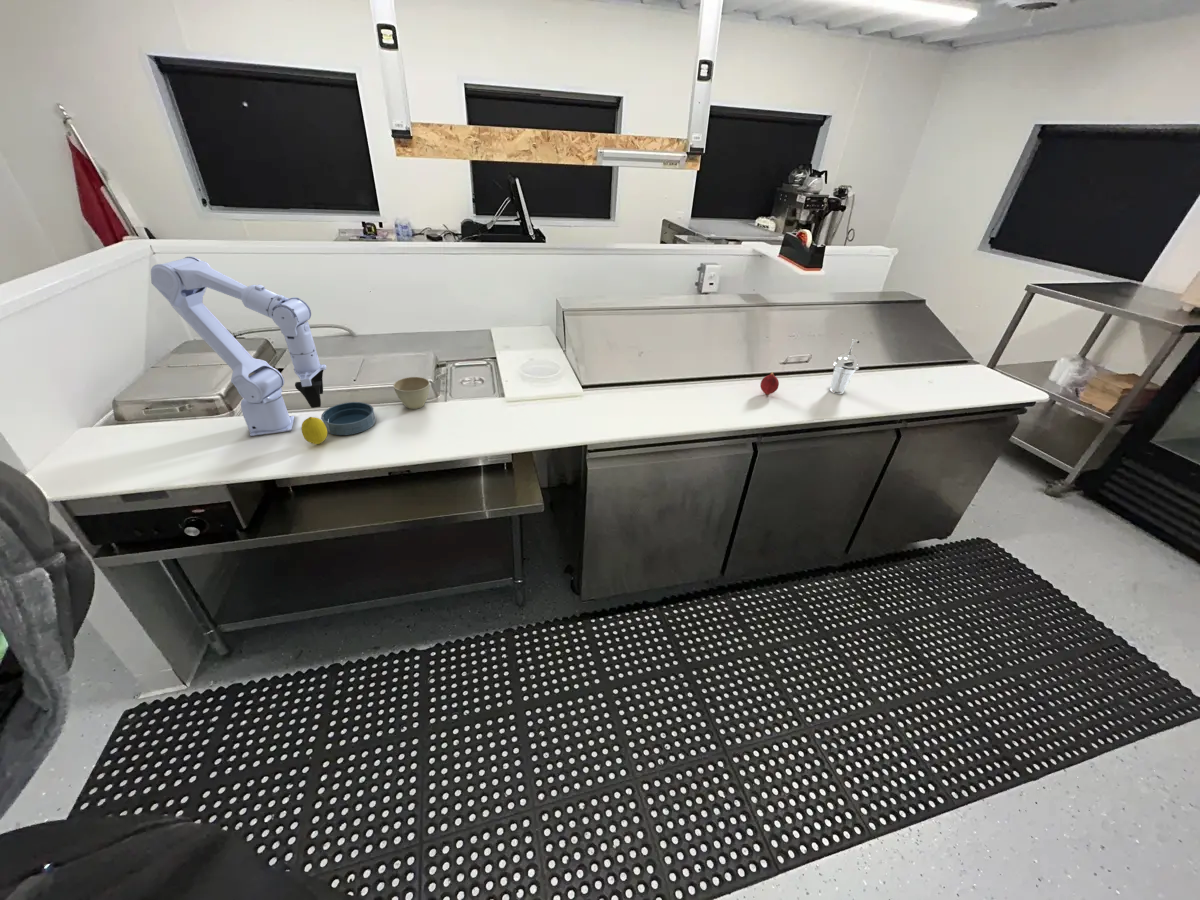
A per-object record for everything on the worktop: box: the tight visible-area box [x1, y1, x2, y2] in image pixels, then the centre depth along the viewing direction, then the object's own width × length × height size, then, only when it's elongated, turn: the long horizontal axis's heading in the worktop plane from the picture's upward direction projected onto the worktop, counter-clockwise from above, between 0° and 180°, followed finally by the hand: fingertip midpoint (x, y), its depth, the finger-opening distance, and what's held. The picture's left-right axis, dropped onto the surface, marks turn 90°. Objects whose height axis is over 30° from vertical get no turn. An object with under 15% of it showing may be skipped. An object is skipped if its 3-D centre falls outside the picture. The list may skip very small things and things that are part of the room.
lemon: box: [301, 416, 328, 445], centre depth 124 cm, size 6×6×8 cm
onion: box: [759, 371, 780, 396], centre depth 162 cm, size 6×6×8 cm
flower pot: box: [392, 376, 431, 410], centre depth 144 cm, size 10×10×7 cm
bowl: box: [320, 401, 377, 436], centre depth 134 cm, size 13×13×4 cm
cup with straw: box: [829, 338, 860, 395], centre depth 164 cm, size 8×9×20 cm
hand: (317, 400), depth 126 cm, fingers open, 7 cm apart
